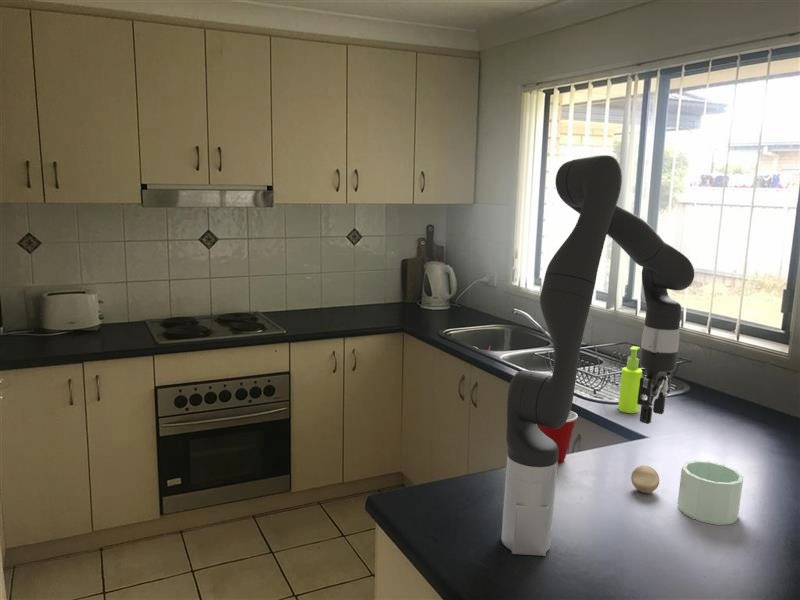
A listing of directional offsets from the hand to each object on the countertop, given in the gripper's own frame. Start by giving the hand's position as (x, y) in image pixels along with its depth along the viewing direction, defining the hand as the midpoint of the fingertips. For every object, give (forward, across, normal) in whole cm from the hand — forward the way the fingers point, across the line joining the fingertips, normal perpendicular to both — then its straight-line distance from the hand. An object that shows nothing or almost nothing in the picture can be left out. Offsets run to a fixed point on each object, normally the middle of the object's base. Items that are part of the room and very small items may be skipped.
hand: (651, 417), depth 149 cm
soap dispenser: (+18, -55, -24) cm, 63 cm away
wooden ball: (+14, 0, 0) cm, 14 cm away
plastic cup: (+18, -2, -24) cm, 30 cm away
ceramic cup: (+18, 0, +14) cm, 22 cm away
